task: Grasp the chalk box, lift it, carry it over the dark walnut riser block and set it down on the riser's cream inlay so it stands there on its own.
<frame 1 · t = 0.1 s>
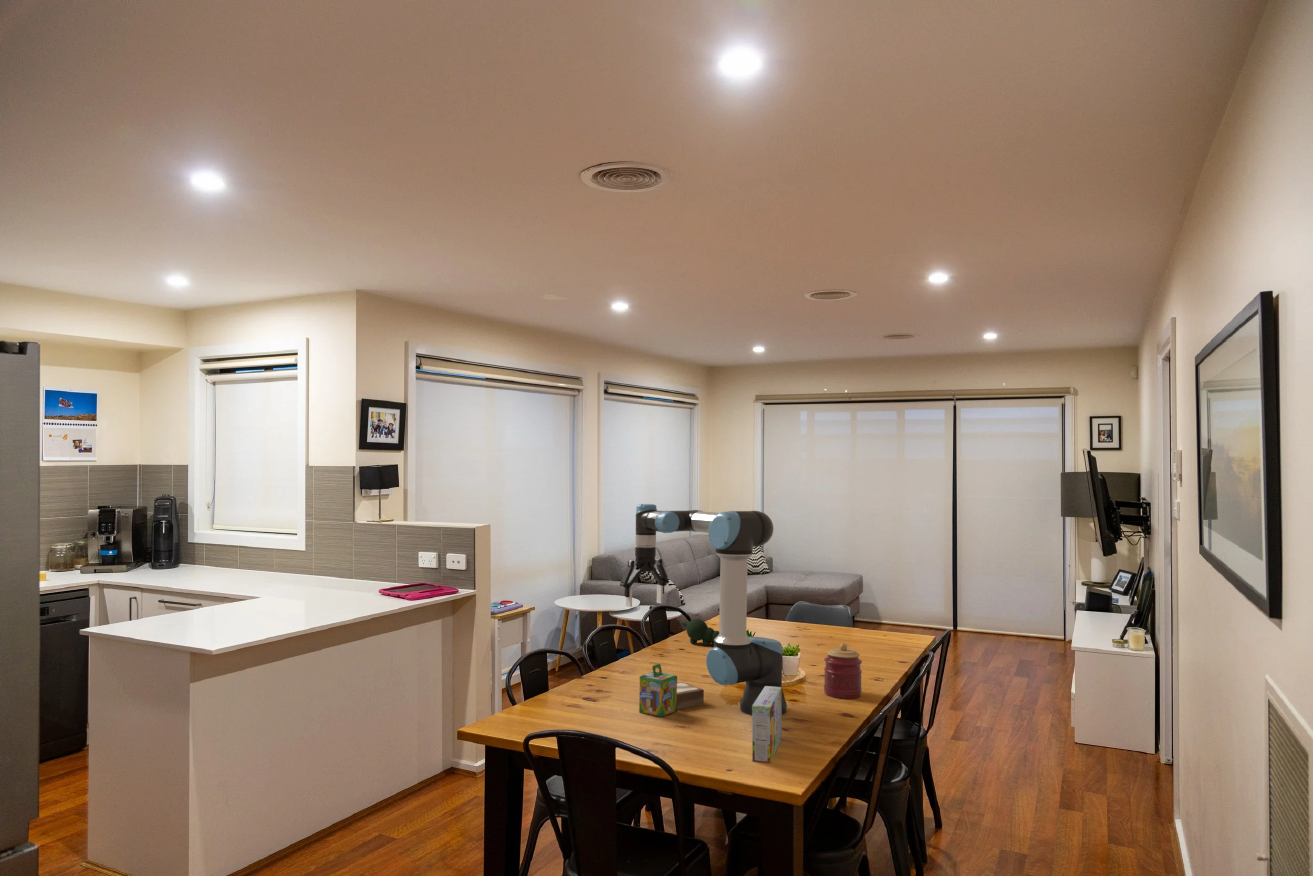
hand: (644, 604, 300), 28 cm above the table, fingers open, 13 cm apart
toy figurine: (708, 645, 363), on the table
chalk box: (658, 712, 263), on the table
riser: (678, 703, 274), on the table
canister: (842, 694, 288), on the table
snack box: (767, 750, 229), on the table
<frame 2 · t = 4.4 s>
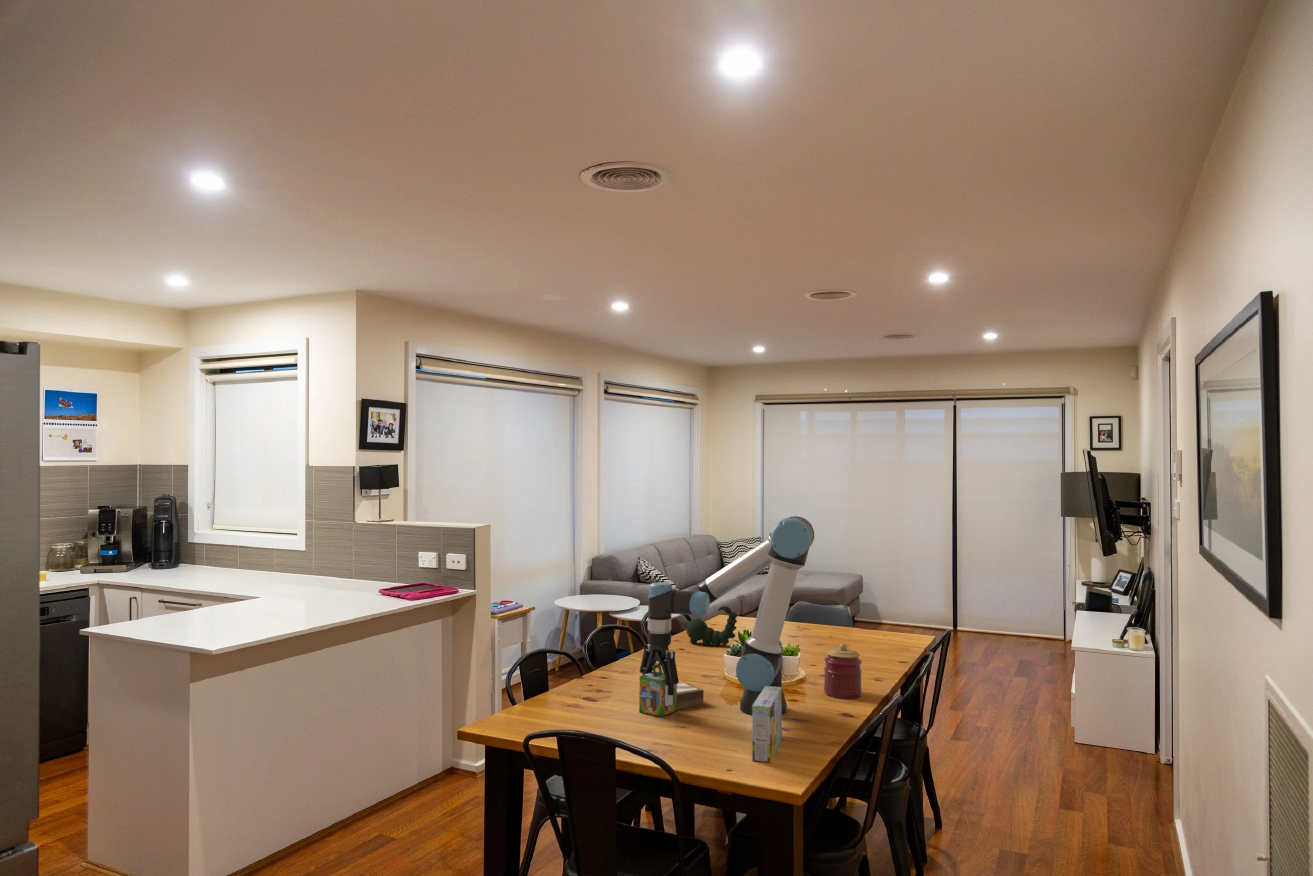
hand: (658, 700, 263), 3 cm above the table, fingers closed on chalk box, 11 cm apart
chalk box: (658, 712, 263), on the table, touching gripper
everything else where it was.
when the fingers open (10 cm above the table, at t = 9.6 s): chalk box drops 1 cm, point 5 cm above the table.
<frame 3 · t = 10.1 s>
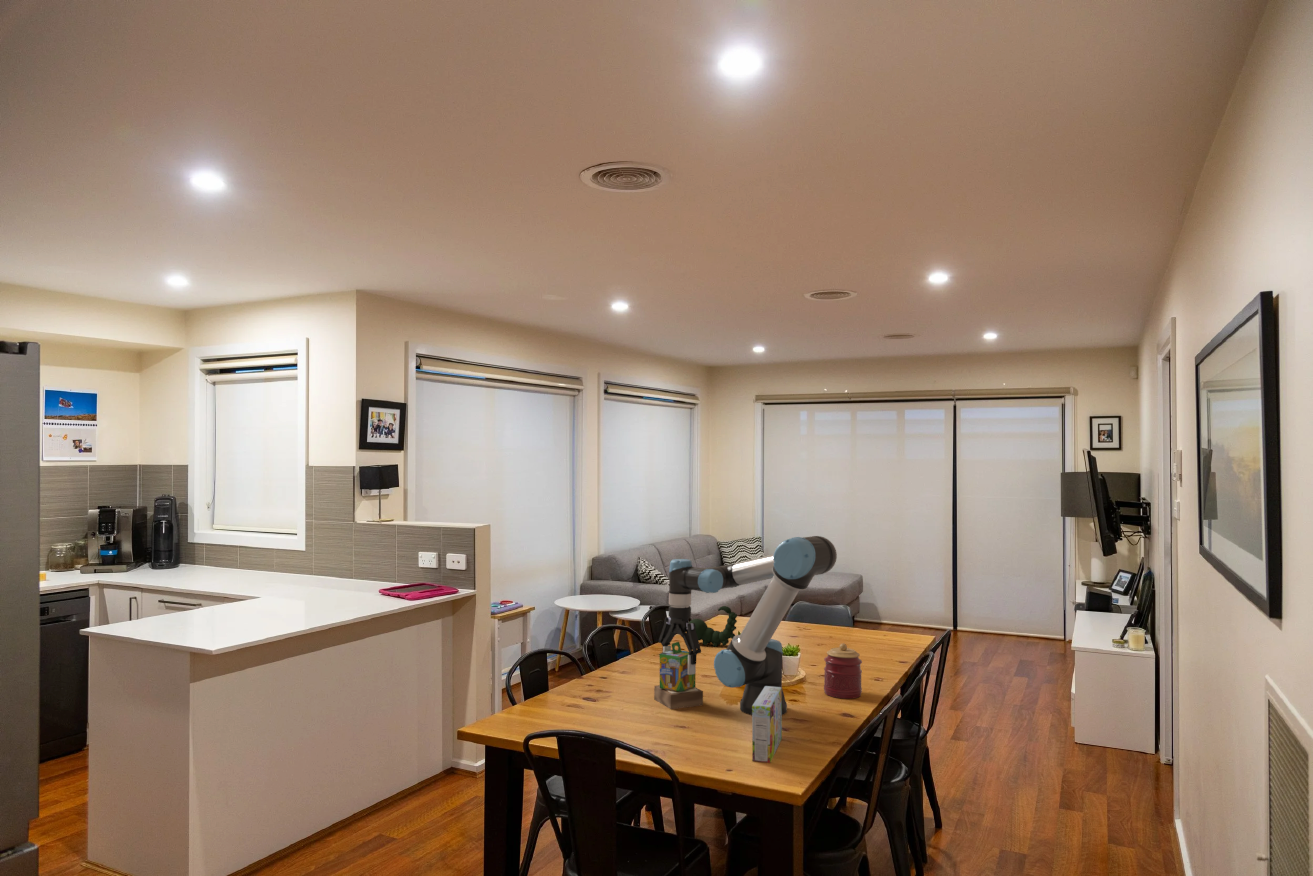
hand: (678, 669, 274), 11 cm above the table, fingers open, 13 cm apart
chalk box: (677, 688, 274), point 5 cm above the table
everything else where it was.
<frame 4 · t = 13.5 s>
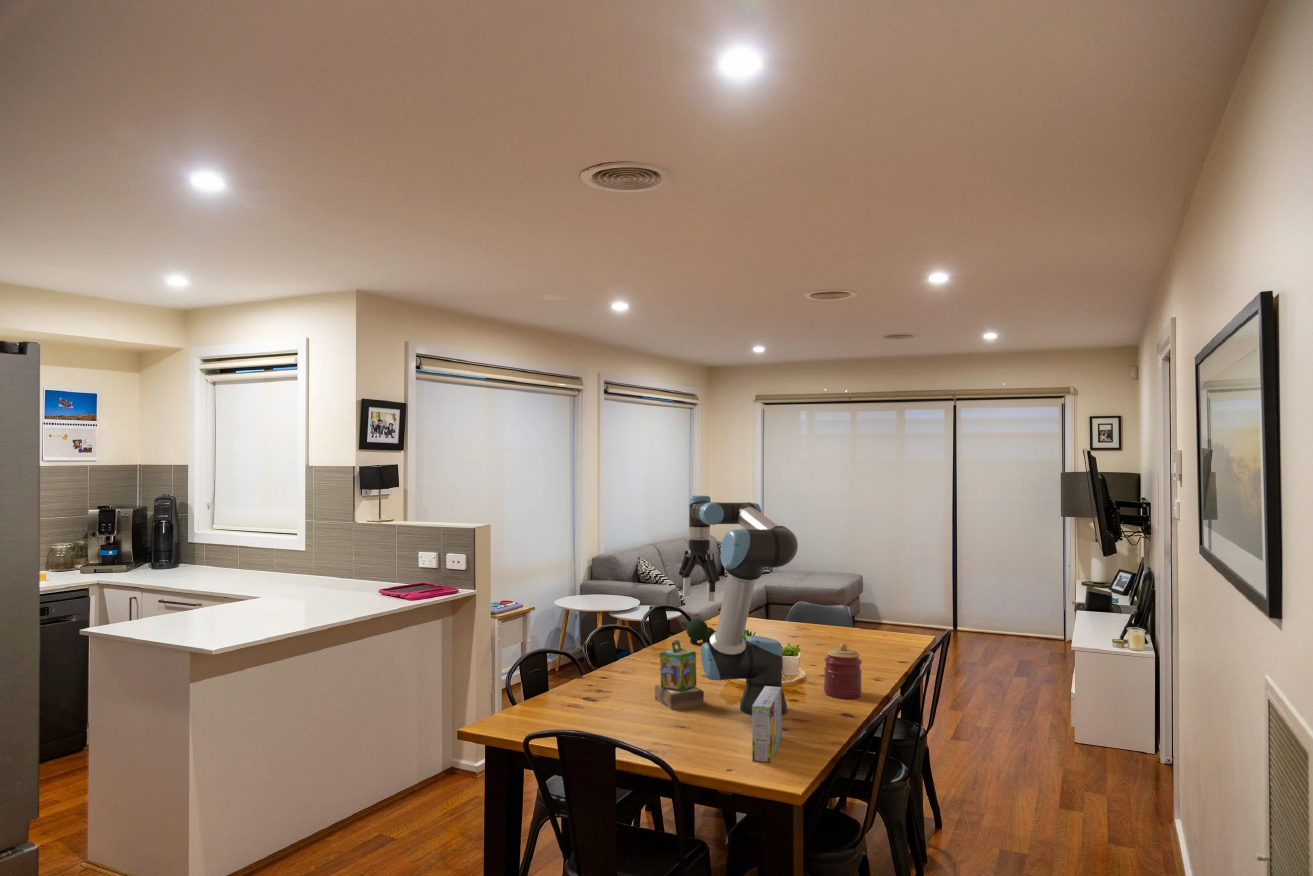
hand: (698, 598, 293), 32 cm above the table, fingers open, 13 cm apart
chalk box: (678, 687, 274), point 5 cm above the table, touching riser
riser: (678, 703, 274), on the table, touching chalk box
everything else where it was.
at the end: chalk box inside the target area on the riser (0.1 cm from its centre), point 5.3 cm above the riser's base; chalk box tilted 4°; chalk box touching nothing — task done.
